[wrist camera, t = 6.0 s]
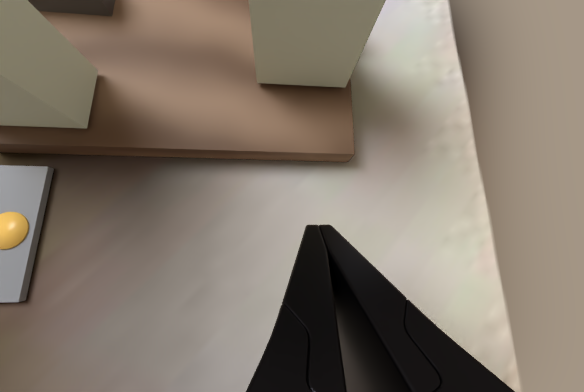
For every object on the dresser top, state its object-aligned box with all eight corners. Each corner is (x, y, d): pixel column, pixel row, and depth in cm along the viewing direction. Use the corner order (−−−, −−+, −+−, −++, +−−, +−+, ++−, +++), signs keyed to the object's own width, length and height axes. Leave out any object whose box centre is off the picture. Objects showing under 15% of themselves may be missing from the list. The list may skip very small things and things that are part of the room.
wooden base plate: (347, 161, 17) (369, 137, 13) (-2, 152, 15) (-97, 120, 11) (340, 23, 19) (357, -33, 15) (39, 1, 18) (-29, -69, 14)
